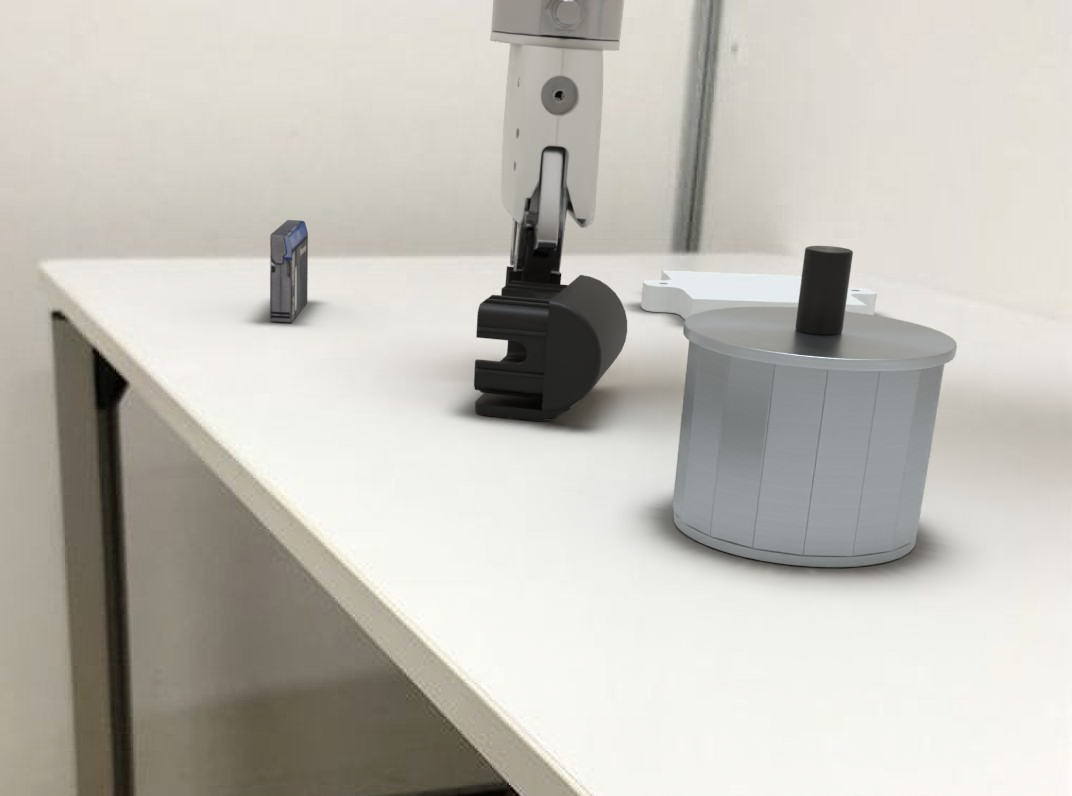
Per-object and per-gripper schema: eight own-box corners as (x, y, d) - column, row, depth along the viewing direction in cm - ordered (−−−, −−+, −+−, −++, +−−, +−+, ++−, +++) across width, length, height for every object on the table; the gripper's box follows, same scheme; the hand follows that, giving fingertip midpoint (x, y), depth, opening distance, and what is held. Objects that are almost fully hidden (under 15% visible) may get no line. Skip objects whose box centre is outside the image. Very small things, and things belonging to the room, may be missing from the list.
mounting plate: (847, 301, 132) (850, 277, 131) (896, 332, 120) (900, 306, 119) (628, 293, 131) (630, 269, 130) (656, 323, 119) (658, 297, 118)
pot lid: (901, 333, 76) (916, 234, 75) (994, 390, 66) (1014, 275, 64) (659, 326, 76) (668, 225, 74) (713, 382, 65) (726, 266, 63)
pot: (871, 496, 79) (897, 322, 76) (950, 570, 69) (984, 373, 66) (653, 491, 78) (670, 315, 75) (700, 565, 68) (722, 365, 65)
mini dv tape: (291, 323, 113) (292, 235, 111) (270, 322, 113) (270, 234, 111) (307, 302, 121) (308, 220, 119) (287, 301, 121) (287, 219, 119)
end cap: (595, 429, 89) (605, 306, 86) (470, 416, 90) (476, 294, 88) (622, 391, 98) (632, 278, 95) (508, 379, 99) (515, 268, 97)
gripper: (642, 28, 87) (605, 365, 94) (602, 20, 100) (572, 315, 107) (503, 18, 86) (476, 358, 93) (482, 11, 100) (460, 308, 107)
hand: (528, 334), depth 100 cm, fingers closed
